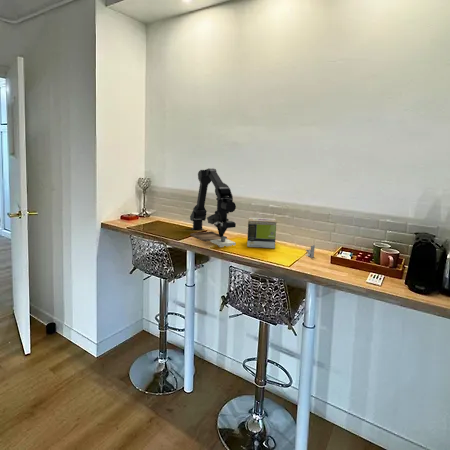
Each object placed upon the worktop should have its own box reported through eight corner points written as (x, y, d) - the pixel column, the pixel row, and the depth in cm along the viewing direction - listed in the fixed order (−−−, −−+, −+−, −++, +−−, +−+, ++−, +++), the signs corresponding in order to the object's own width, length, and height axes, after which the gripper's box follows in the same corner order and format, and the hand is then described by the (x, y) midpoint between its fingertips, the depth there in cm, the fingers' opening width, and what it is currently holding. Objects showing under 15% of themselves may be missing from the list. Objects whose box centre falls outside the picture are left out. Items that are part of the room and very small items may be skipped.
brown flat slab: (190, 236, 204) (190, 233, 204) (211, 233, 213) (211, 231, 213) (204, 242, 192) (204, 239, 191) (226, 239, 200) (226, 236, 200)
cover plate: (210, 243, 192) (210, 235, 191) (225, 241, 197) (225, 234, 196) (220, 248, 184) (220, 239, 183) (235, 246, 189) (235, 238, 188)
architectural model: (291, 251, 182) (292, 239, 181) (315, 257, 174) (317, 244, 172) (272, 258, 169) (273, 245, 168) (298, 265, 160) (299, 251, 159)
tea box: (274, 244, 195) (276, 218, 192) (274, 249, 185) (276, 221, 182) (247, 242, 196) (248, 216, 193) (246, 247, 186) (248, 220, 183)
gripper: (200, 207, 191) (199, 235, 194) (219, 213, 176) (218, 242, 179) (217, 206, 197) (216, 233, 200) (237, 211, 182) (235, 240, 186)
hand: (221, 237), depth 191 cm, fingers closed
